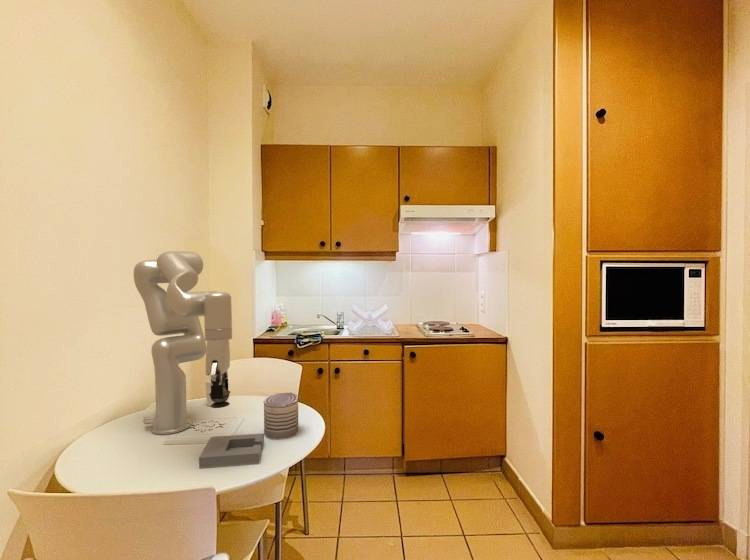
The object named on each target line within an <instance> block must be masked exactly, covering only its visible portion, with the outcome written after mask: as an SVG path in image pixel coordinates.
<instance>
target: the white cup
mask: <svg viewBox="0 0 750 560" xmlns="http://www.w3.org/2000/svg"><path fill="white" fill-rule="evenodd" d="M205 392H206V393H205V394H206V401H207V406H208V407H209V408H212V407H211V405H212V404H213V403H215V402H213V401H212V400H211V398H210V395H209V394H210V393H211V377H210V378H208V379H206V380H205Z"/></svg>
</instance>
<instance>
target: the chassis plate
mask: <svg viewBox="0 0 750 560" xmlns="http://www.w3.org/2000/svg"><path fill="white" fill-rule="evenodd" d="M264 445H265V435H264V432H263V433H249V434H235V435H219V436H210V438H209V440H208V441H207V443H206V445H205V446H204V448H203V450H202V452H201V454H200V455H199V457H198V464H199V466H198V467H199V469H207V468H208V469H209V468H223V467H224V468H225V467H234V466H247V465H249V466H250V465H259V464H260V461H261V457H262V453H263V449H264Z"/></svg>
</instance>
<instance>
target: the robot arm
mask: <svg viewBox="0 0 750 560" xmlns="http://www.w3.org/2000/svg"><path fill="white" fill-rule="evenodd" d="M203 269H204V261H203V258H202V257H201V255H200V254H199V253H197V252H196V251H195V252H194V251H179V250H177V251H176V250H175V251H174V250H171V251H164V252H162V253H161V254H159V255H158V257H157V258H156V259H147V260H142V261H139V262H138V263H136V264H135V266H134V269H133V281H134V285H135V288H136V290H137V292H138V293H139V295H140V297H141V298H142V301H143V303H144V307H145V311H146V315H147V319H148V323H149V327H150V331H151V332H152V333H153V335H155V336H159V337H160V336H161V337H162V336H163V337H162V338H160V339H158V340H156V341H154V342H153V344H152V345H151V351H150V352H151V357H152V362H153V367H154V384H155V414H154V415H152V416H144V417H143V419H142V422H143V424H144V425H150V426H151V427H150V432H151V433H152V434H154V435H155V434H156V435H171V434H175V433H176V434H177V433H180V432H184V431H186V430H188V429H189V428H190V427H191V426H192V420H191V419H190V418H187V417H188V416H187V376H186V373H185V371H184V370H183V369H182V368H181V367H180V364H183V363H188V362H193V361H199V360H201V359H203V358H204V357H205V375H206V376H210V378H211V399H222V398H223V384H222V374H224V375H225V379H226V380H225V388H226V390H228V391H229V374H228V373H229V372H228V370H229V368H230V366H231V351H230V340H233V325H232V324H233V323H232V322H233V321H232V318H233V317H232V313H233V310H232V296H231V294H230V293H229V292H222V291H220V292H219V291H215V290H212V291H211V290H209V291H206V290H205V291H192V290H193V289H194V288H195V287H196V286H197V284H198V282H199V275H200V274H201V273H202V272H203ZM159 284H168V285H167V288H166V290H165V289H164V288H163V287H161V286H160V285H159ZM199 317H203V318H204V319H203V320H204V322H203V323H204V332H203V328H202V323H201V321H200V320H201V319H200V318H199ZM181 334H183V335H181ZM172 335H174V336H172ZM175 335H176V336H175ZM164 336H166V337H164ZM217 372H220V374H216V373H217ZM217 376H219V378H218V377H217Z"/></svg>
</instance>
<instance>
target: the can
mask: <svg viewBox="0 0 750 560" xmlns="http://www.w3.org/2000/svg"><path fill="white" fill-rule="evenodd" d="M299 396H300V395H298V394H295V393H293V392H278V393H274V394H272V395H268V396H266V397H265V398H264V400H263V402H262V403H263V424H264V425H263V433H264V437H266V439H270V440H275V441H277V440H281V441H282V440H288V439H290V438H292V437H295V436H297V434H298V432H299Z"/></svg>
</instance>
